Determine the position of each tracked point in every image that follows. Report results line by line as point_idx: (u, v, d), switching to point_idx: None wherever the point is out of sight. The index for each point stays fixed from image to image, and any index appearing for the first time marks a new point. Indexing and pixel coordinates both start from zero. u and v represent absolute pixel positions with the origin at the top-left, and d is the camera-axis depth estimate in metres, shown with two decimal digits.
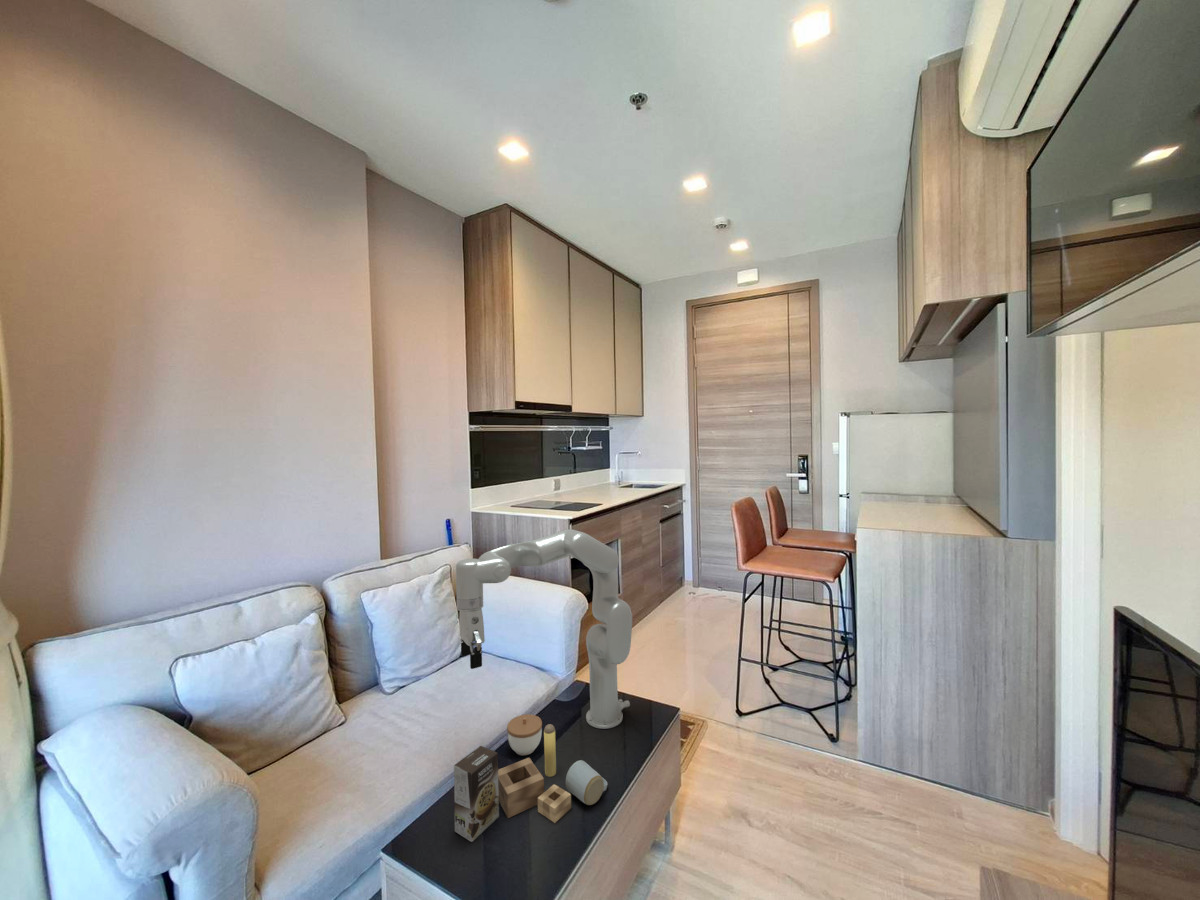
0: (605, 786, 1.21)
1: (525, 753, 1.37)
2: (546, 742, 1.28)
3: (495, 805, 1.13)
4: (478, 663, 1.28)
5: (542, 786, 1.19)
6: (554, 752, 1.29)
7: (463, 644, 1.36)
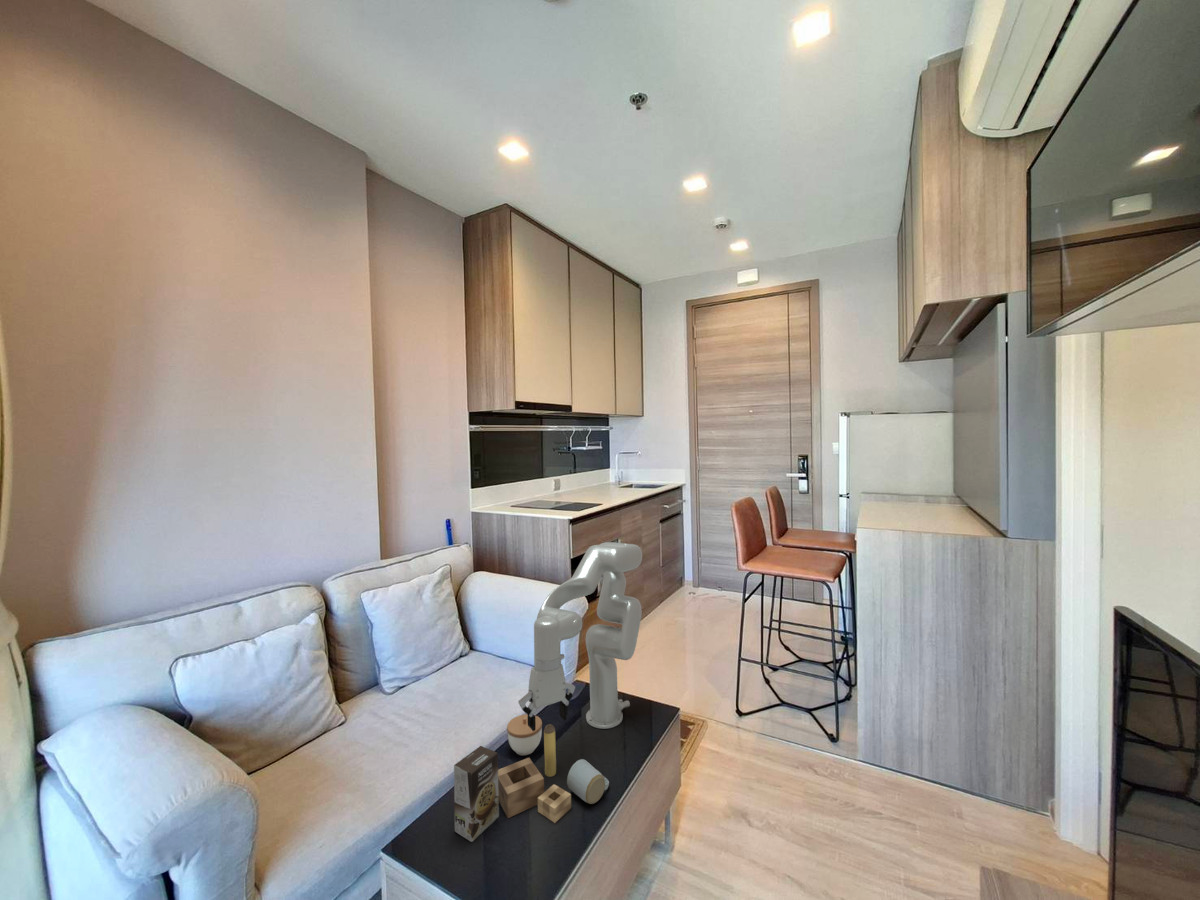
0: (606, 785, 1.22)
1: (525, 753, 1.37)
2: (546, 742, 1.28)
3: (495, 805, 1.13)
4: None
5: (542, 786, 1.19)
6: (554, 752, 1.29)
7: None
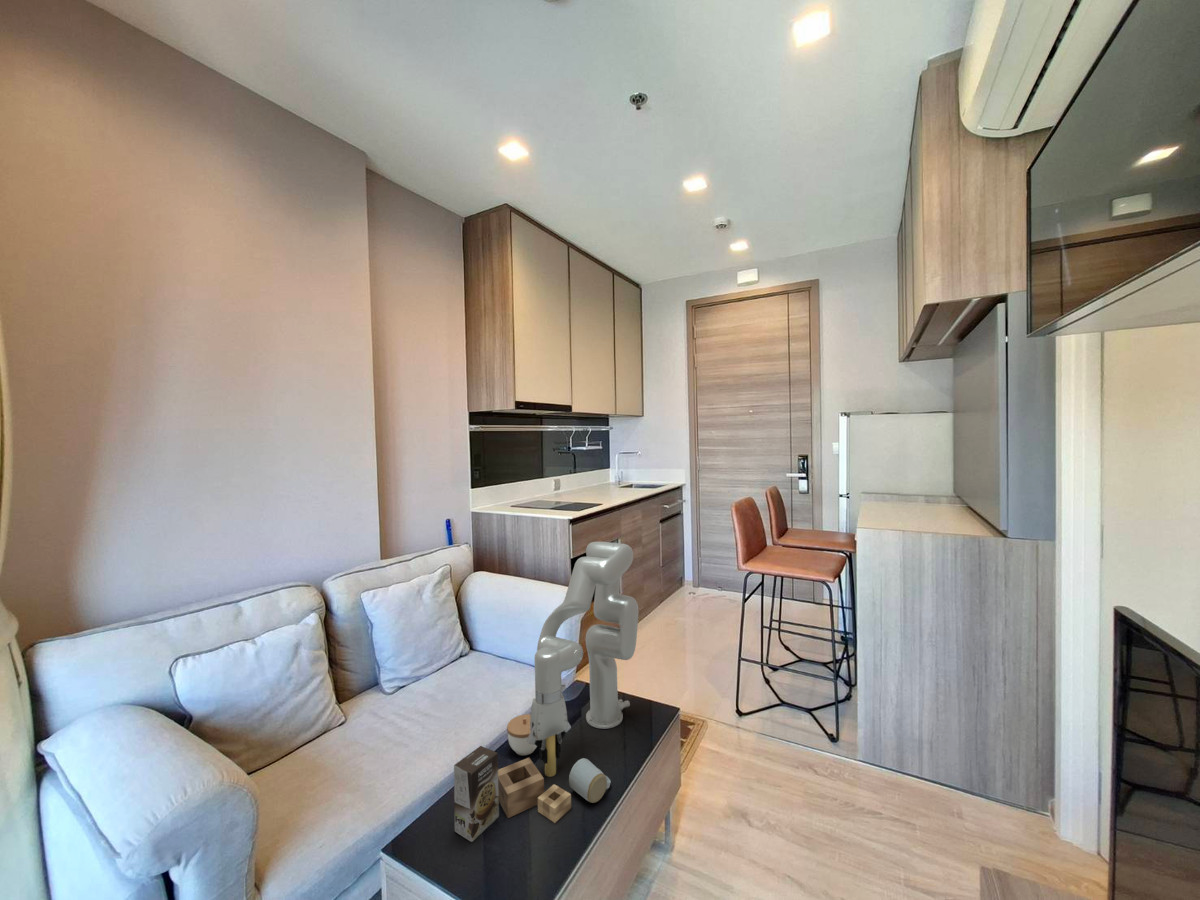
0: (608, 784, 1.22)
1: (525, 753, 1.37)
2: (546, 742, 1.28)
3: (495, 805, 1.13)
4: None
5: (542, 786, 1.19)
6: (554, 752, 1.29)
7: None
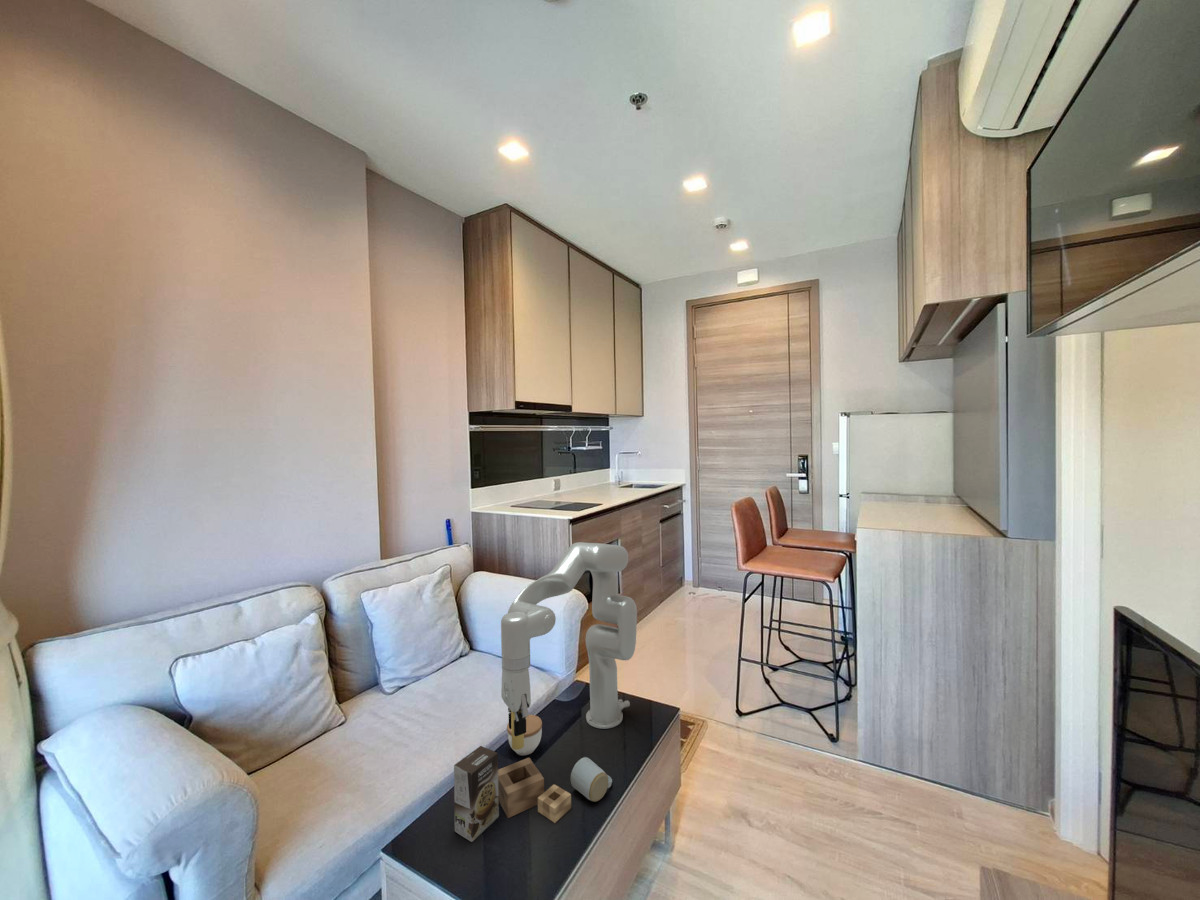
0: (610, 783, 1.22)
1: (525, 753, 1.37)
2: (521, 711, 1.20)
3: (495, 805, 1.13)
4: None
5: (542, 786, 1.19)
6: None
7: None
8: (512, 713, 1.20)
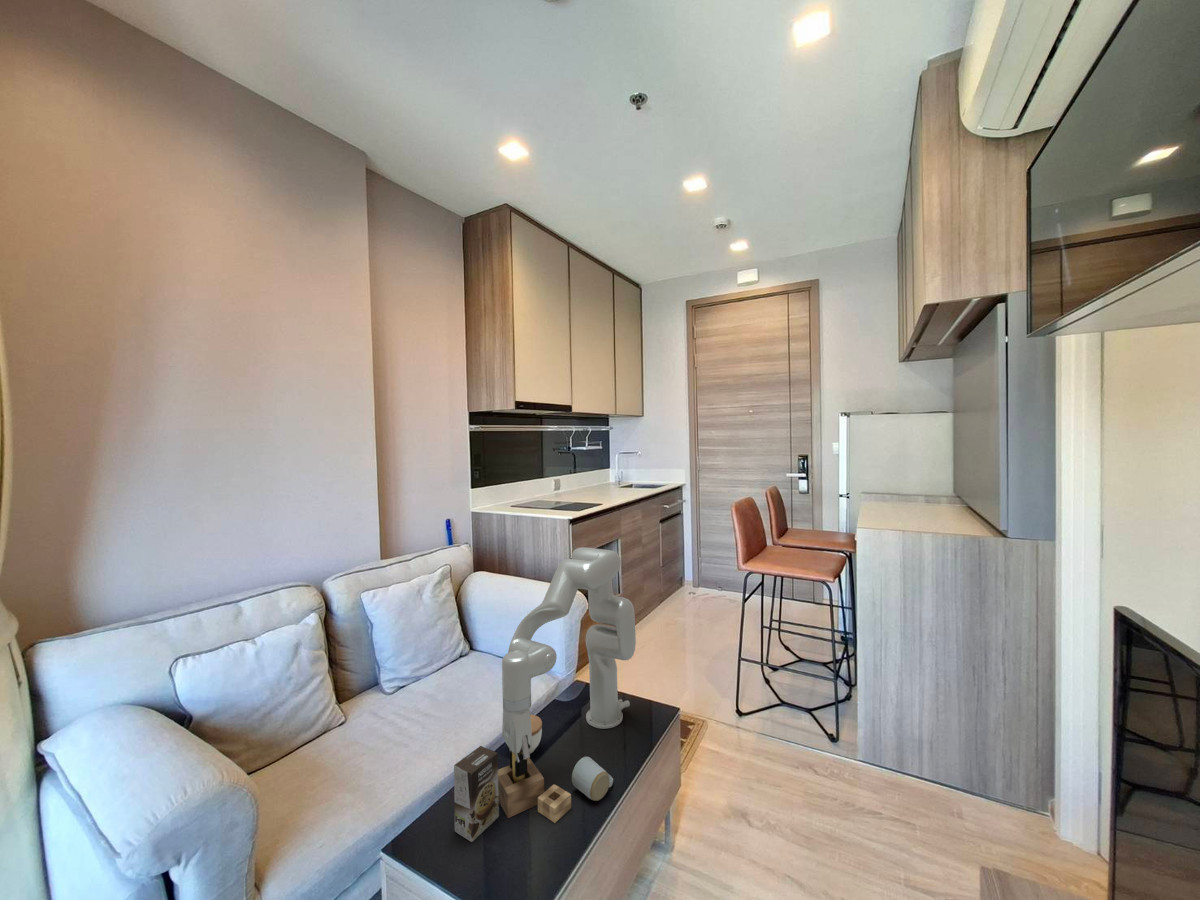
0: (611, 782, 1.23)
1: None
2: (522, 751, 1.20)
3: (495, 805, 1.13)
4: None
5: (542, 786, 1.19)
6: None
7: None
8: (513, 753, 1.19)
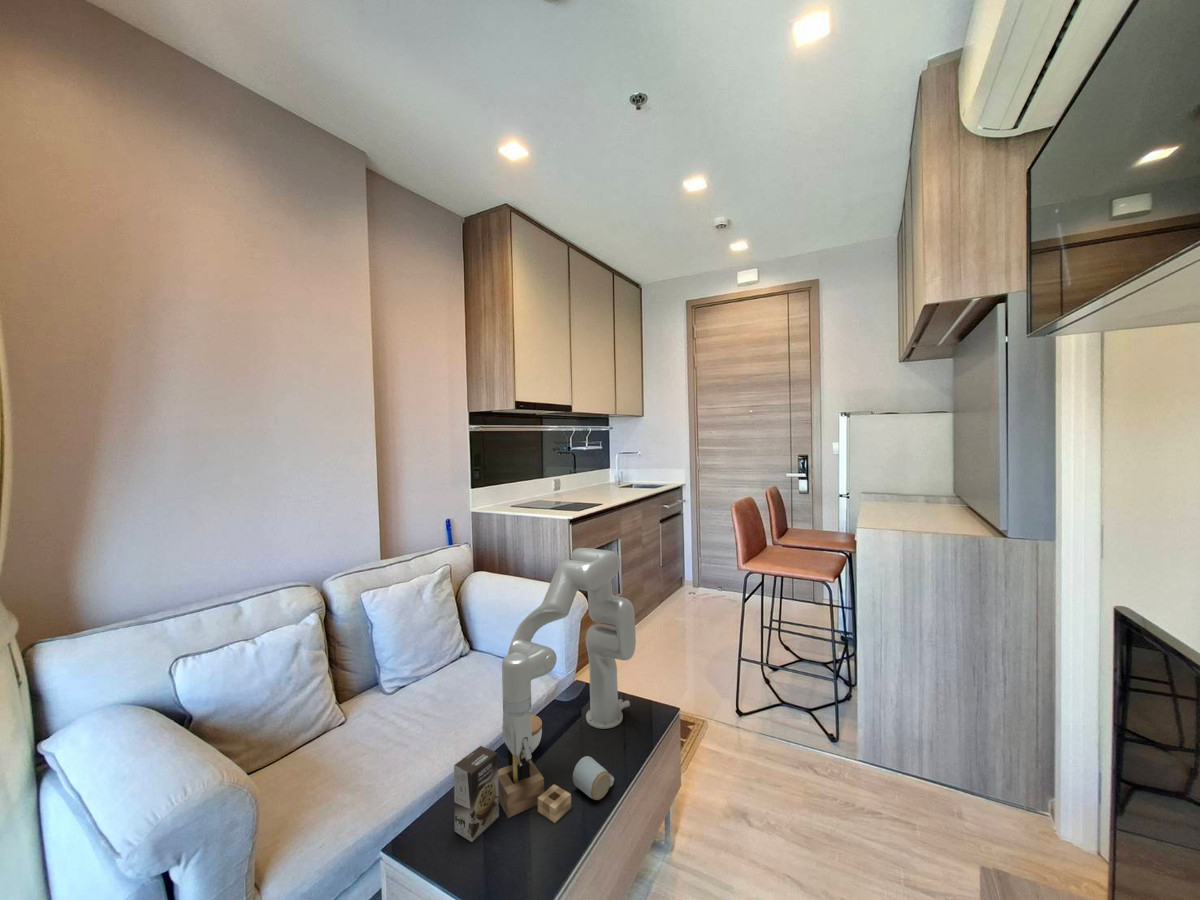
0: (612, 781, 1.23)
1: None
2: None
3: (495, 805, 1.13)
4: None
5: (542, 786, 1.19)
6: None
7: None
8: (514, 765, 1.19)
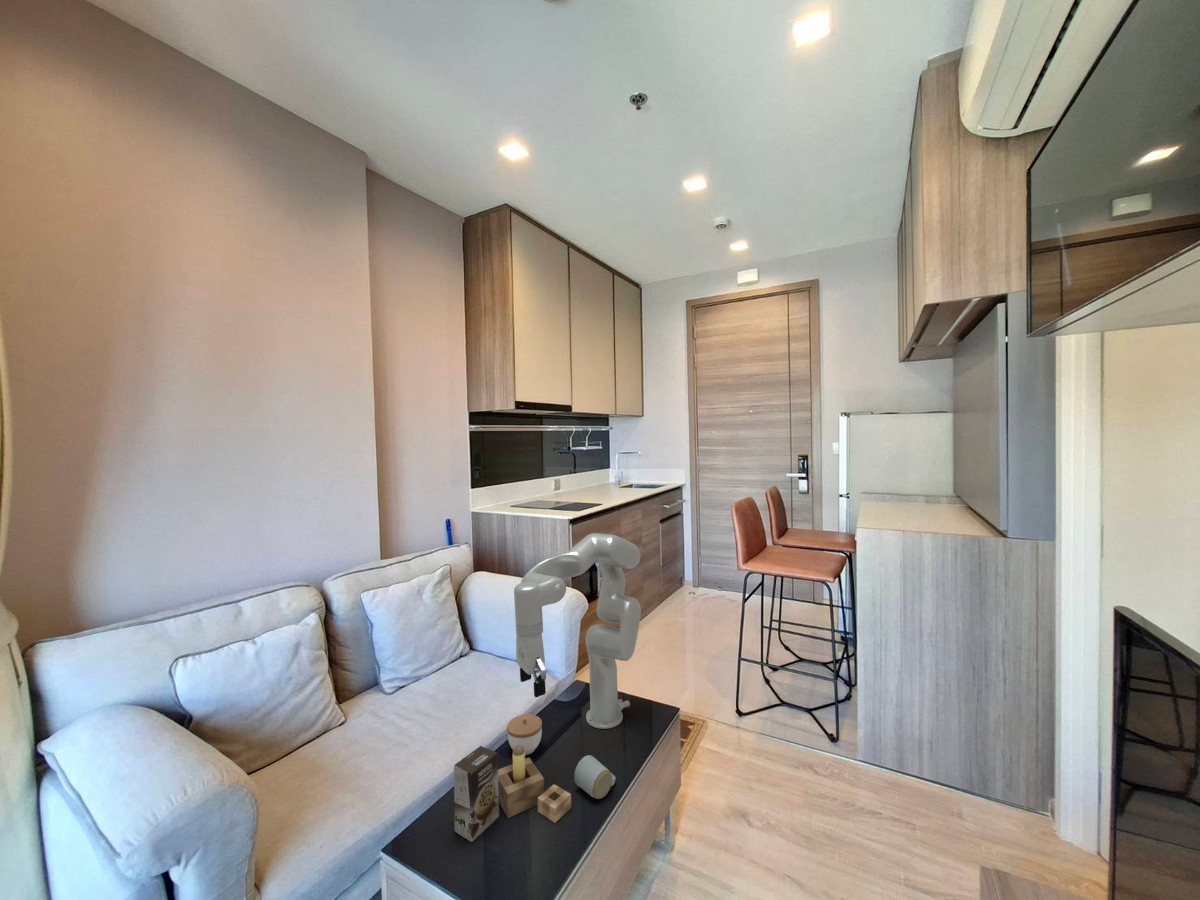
0: (613, 781, 1.23)
1: (525, 753, 1.37)
2: (523, 763, 1.20)
3: (495, 805, 1.13)
4: None
5: (542, 786, 1.19)
6: None
7: None
8: (514, 765, 1.19)
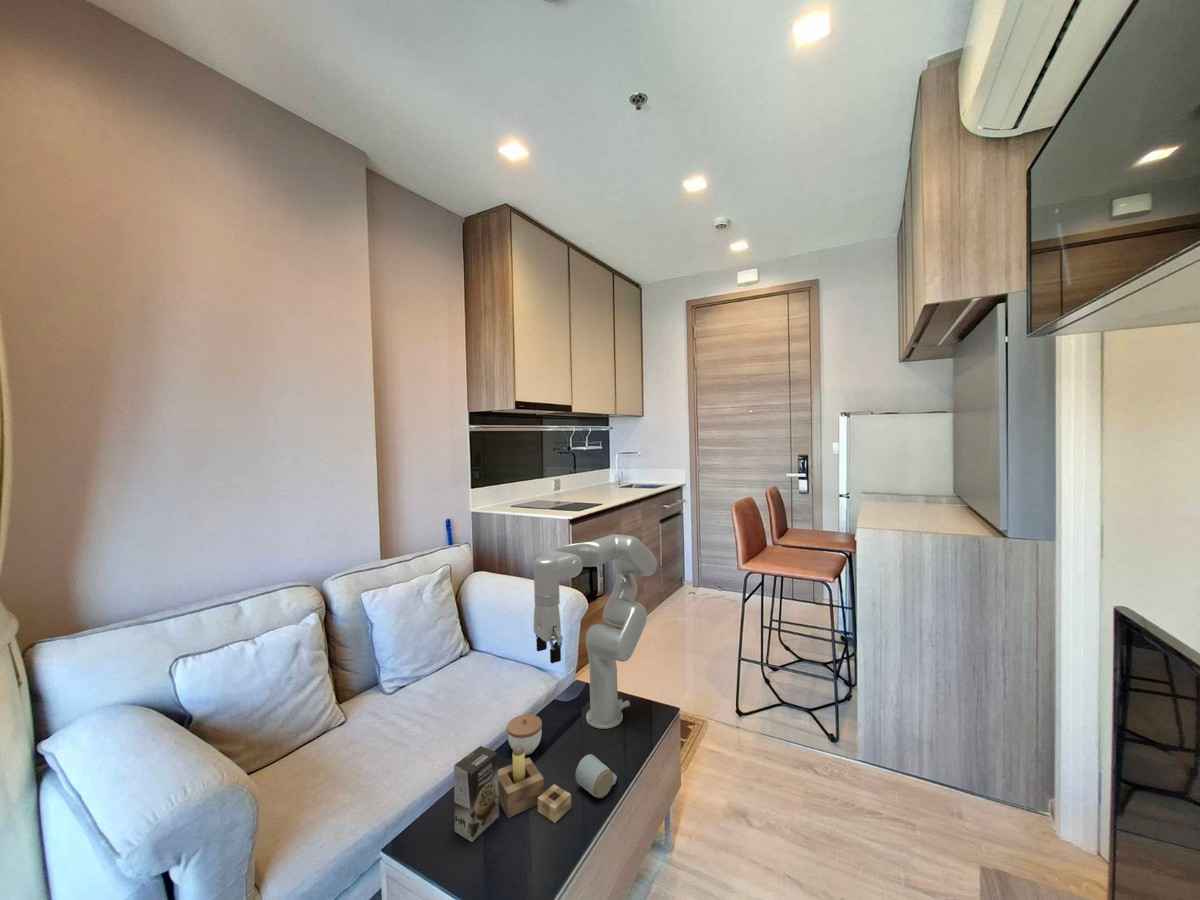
0: (614, 780, 1.24)
1: (525, 753, 1.37)
2: (523, 763, 1.20)
3: (495, 805, 1.13)
4: None
5: (542, 786, 1.19)
6: None
7: None
8: (514, 765, 1.19)
